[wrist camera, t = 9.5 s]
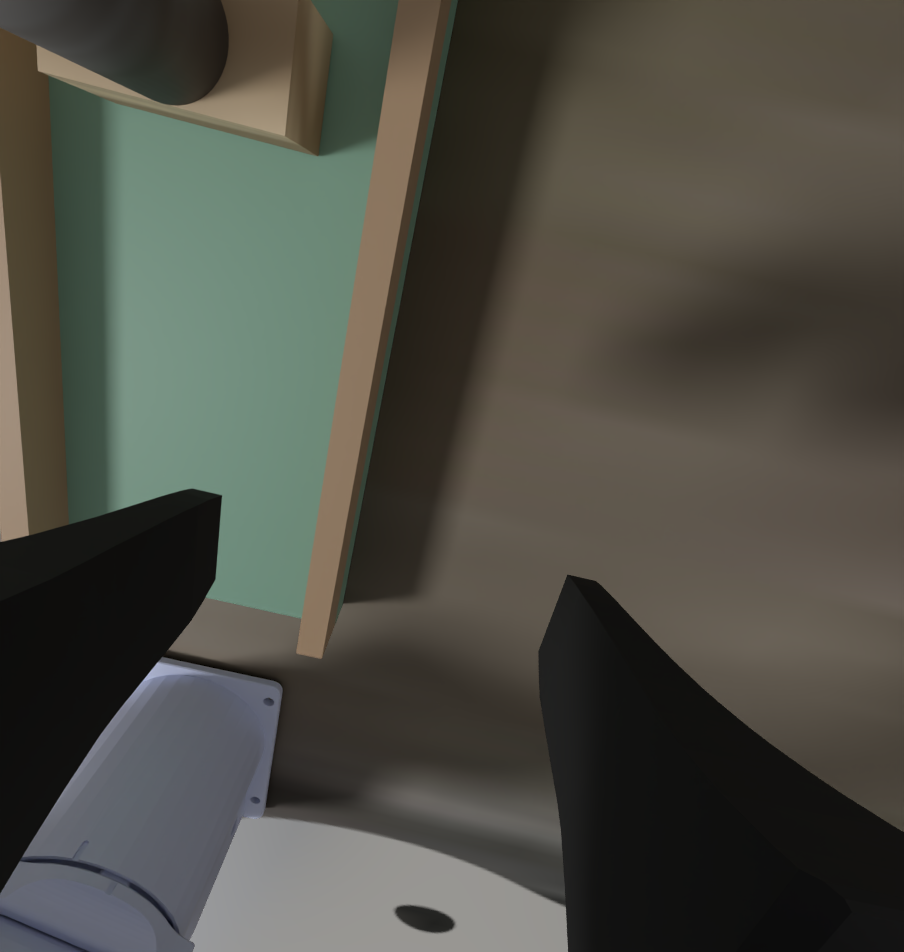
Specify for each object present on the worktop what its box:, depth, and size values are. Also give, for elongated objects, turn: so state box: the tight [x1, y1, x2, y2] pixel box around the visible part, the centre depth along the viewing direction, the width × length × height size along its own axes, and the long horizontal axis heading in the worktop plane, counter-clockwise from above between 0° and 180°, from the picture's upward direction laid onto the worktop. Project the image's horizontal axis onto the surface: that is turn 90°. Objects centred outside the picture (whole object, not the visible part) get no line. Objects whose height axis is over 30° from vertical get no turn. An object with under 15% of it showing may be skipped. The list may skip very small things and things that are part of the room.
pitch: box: [0, 0, 458, 659], centre depth 14 cm, size 32×12×8 cm, turn 167°
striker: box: [0, 0, 333, 156], centre depth 12 cm, size 3×6×8 cm, turn 77°
